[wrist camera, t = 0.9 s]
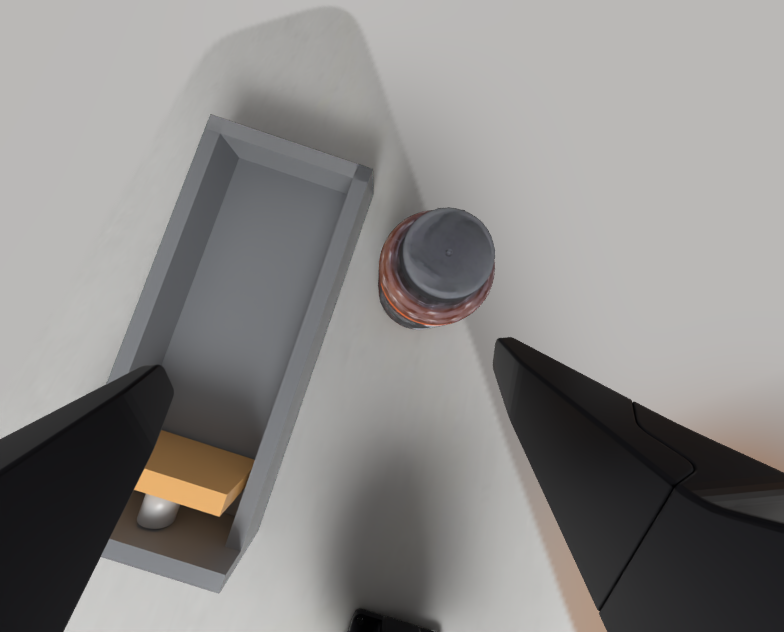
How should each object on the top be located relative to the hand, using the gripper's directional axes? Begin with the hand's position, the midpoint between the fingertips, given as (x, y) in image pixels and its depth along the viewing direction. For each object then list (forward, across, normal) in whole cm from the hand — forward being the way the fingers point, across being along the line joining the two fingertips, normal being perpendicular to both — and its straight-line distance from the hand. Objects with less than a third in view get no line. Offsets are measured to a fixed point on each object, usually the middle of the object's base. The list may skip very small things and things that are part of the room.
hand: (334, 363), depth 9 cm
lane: (+14, +8, +7) cm, 18 cm away
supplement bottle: (+16, -4, +5) cm, 17 cm away
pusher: (+8, +12, +14) cm, 21 cm away
